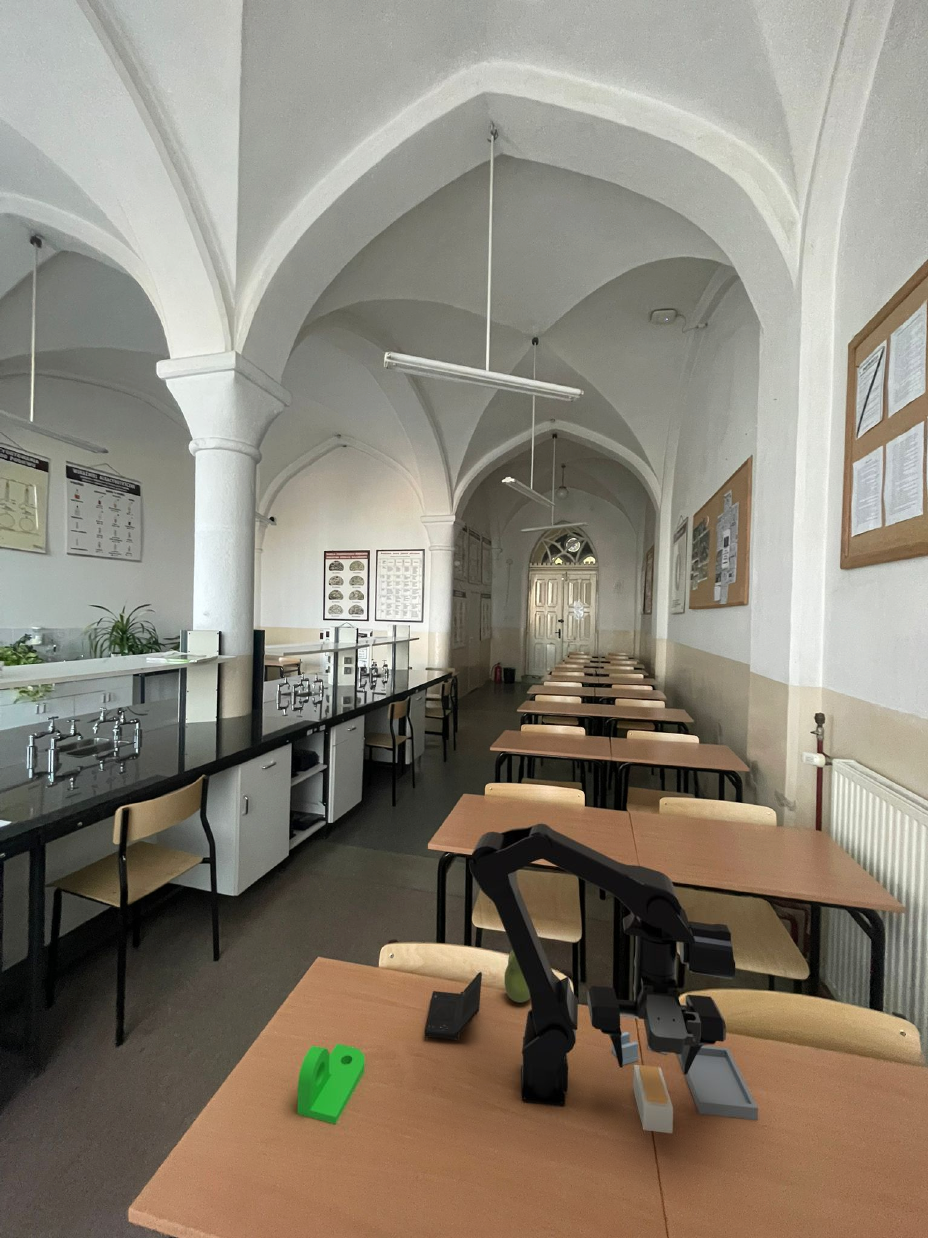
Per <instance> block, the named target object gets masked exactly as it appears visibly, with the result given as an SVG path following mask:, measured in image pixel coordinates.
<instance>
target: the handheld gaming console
mask: <svg viewBox="0 0 928 1238" xmlns="http://www.w3.org/2000/svg"><path fill="white" fill-rule="evenodd" d="M482 977H483V972H482V971H479V972H478V973H477V974H476V976H475V977H474V978H473V980H471V982H470V983H469V984H468V985H467V987H466V988H464V990H463V991H461V992H460V993H458V992H447V991H440V990H439V991H437V990H433V991H432V994H431V998H430V999H431V1000H430V1003H429V1008H428V1013H427V1017H426V1021H425V1024H424V1025H425V1026H424V1032H423V1034H424V1035H423V1036H424V1037H428V1038H429V1037H430V1038H438V1039H447V1040H455V1041H459V1038H460V1033H462V1031H463V1030H465V1028H466V1027H467V1025H468V1024H469V1023H470V1022H471V1021H472V1019H474V1017H475V1016H476V1015H477V1013H478V1012H479V1011H480V1003H481V1002H480V1001H481V993H482V992H481V991H482Z"/></svg>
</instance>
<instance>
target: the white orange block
mask: <svg viewBox="0 0 928 1238" xmlns="http://www.w3.org/2000/svg"><path fill="white" fill-rule="evenodd" d="M633 1093H634V1097H635V1101H636V1106H637V1109H638V1110H637V1111H638V1113H639V1118H640V1123H641V1126H642V1129H643V1131H649V1132H651V1131H652V1132H658V1133H666V1134H673V1125H674V1124H673V1123H674V1107H673V1103H672V1101H671V1097H670V1094H669V1091H668V1087H667V1084H666V1081H665V1078H664V1074H663V1071H662V1067H658V1066H652V1065H643V1064H641V1065H640V1064H639V1065H638V1064H633Z"/></svg>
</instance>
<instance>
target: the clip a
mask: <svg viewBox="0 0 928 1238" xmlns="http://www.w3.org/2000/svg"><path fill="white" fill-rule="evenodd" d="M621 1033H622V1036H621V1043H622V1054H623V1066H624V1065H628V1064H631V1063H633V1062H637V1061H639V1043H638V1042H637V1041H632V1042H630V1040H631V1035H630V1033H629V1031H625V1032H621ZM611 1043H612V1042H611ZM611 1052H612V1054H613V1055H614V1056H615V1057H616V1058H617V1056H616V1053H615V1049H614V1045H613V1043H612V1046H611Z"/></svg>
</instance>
